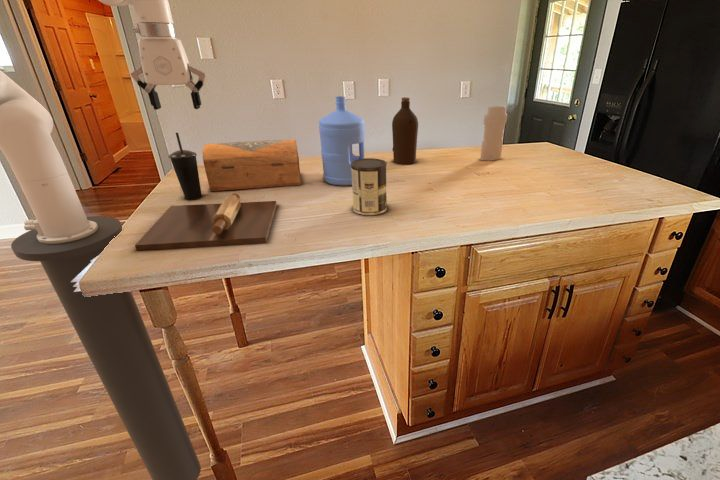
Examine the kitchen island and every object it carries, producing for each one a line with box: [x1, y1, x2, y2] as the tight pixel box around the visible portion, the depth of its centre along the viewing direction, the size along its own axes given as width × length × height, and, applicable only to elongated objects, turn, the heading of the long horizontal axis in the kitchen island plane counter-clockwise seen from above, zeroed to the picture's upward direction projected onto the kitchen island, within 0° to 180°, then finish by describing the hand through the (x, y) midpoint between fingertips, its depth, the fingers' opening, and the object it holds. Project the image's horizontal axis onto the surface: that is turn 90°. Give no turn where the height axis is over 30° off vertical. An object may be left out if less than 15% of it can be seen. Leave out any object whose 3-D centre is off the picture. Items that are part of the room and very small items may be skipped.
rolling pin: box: [212, 192, 242, 234], centre depth 106 cm, size 4×24×4 cm, turn 10°
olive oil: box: [391, 97, 419, 165], centre depth 160 cm, size 11×11×25 cm
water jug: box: [318, 95, 366, 187], centre depth 136 cm, size 16×16×28 cm
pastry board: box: [134, 200, 278, 252], centre depth 107 cm, size 30×26×2 cm
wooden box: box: [202, 139, 302, 192], centre depth 137 cm, size 30×16×14 cm, turn 105°
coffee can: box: [351, 157, 388, 216], centre depth 115 cm, size 10×10×14 cm
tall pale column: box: [479, 104, 508, 161], centre depth 165 cm, size 11×4×22 cm, turn 106°
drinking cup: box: [168, 132, 203, 201], centre depth 121 cm, size 8×8×20 cm
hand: (177, 108), depth 102 cm, fingers open, 9 cm apart
